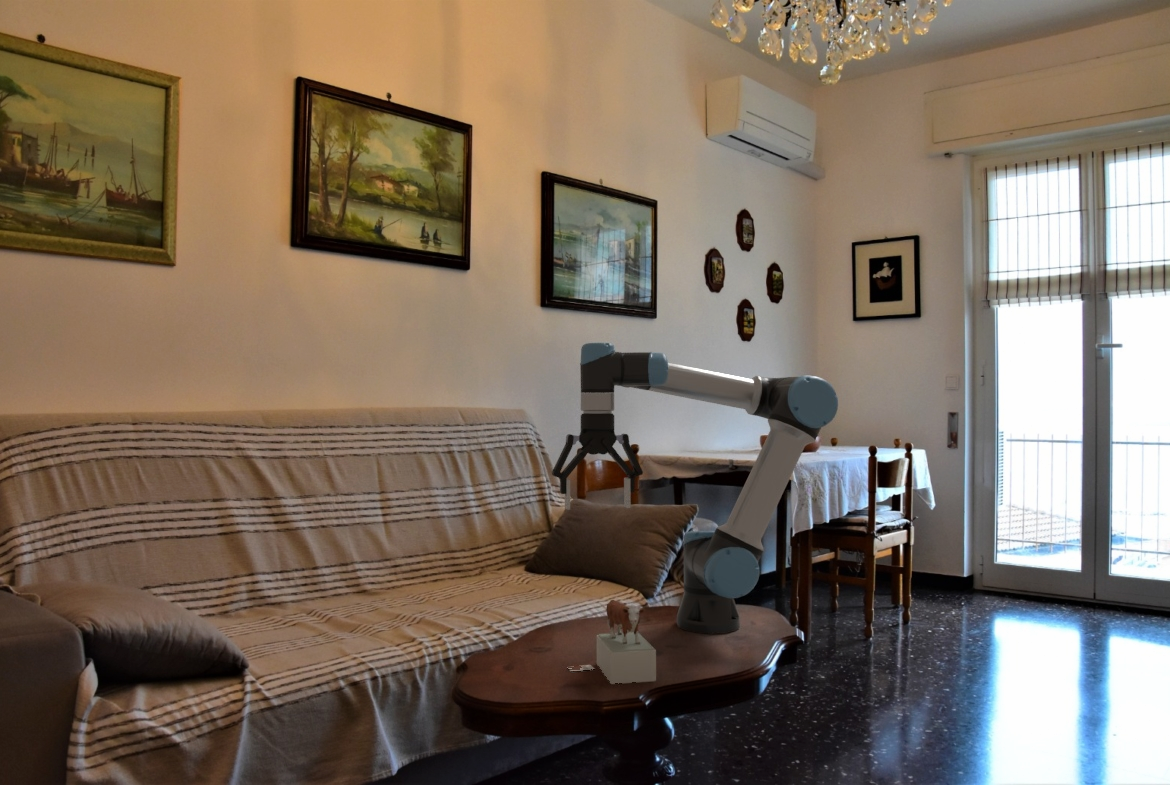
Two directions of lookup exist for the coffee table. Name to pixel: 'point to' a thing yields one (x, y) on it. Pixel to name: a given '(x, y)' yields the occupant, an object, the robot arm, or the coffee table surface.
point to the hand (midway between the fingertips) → (597, 508)
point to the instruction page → (583, 668)
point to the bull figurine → (623, 619)
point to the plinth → (626, 658)
